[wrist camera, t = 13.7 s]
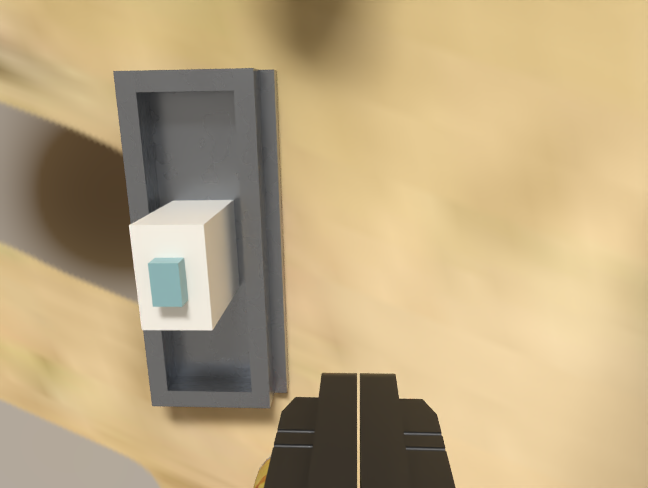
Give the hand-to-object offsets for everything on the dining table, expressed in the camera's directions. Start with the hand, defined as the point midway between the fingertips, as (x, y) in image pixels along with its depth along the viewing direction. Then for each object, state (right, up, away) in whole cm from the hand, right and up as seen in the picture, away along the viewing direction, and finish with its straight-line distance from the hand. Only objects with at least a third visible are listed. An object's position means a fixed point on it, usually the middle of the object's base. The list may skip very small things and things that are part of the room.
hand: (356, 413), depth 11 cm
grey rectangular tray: (-8, +4, +26) cm, 27 cm away
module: (-8, +3, +25) cm, 26 cm away
